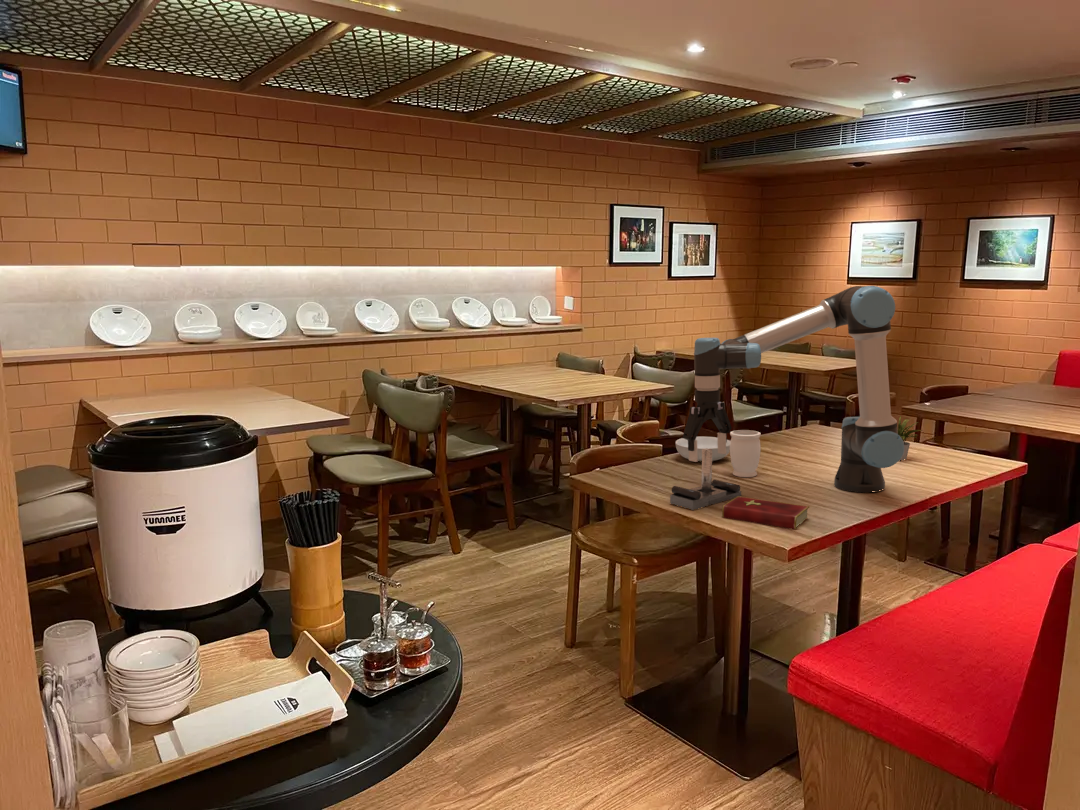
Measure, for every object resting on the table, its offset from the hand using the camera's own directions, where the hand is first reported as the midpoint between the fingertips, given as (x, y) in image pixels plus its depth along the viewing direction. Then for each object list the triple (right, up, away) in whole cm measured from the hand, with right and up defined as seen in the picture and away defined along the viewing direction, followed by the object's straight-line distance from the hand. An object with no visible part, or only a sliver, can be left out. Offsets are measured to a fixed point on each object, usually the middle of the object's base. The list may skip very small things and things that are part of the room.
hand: (707, 457), depth 235 cm
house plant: (+80, -4, +47) cm, 93 cm away
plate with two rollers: (0, -13, +2) cm, 14 cm away
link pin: (0, -13, +2) cm, 14 cm away
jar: (+20, -8, +31) cm, 38 cm away
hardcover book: (+13, -17, -17) cm, 27 cm away
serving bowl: (+10, -5, +56) cm, 57 cm away
